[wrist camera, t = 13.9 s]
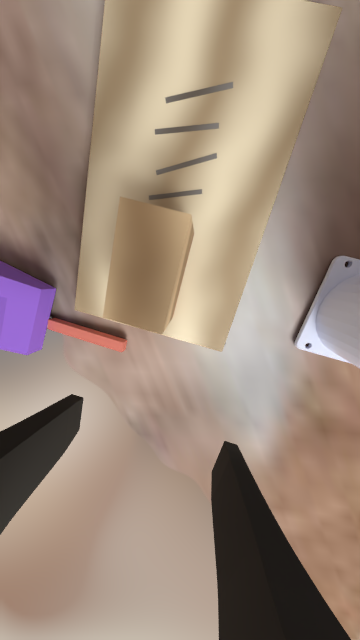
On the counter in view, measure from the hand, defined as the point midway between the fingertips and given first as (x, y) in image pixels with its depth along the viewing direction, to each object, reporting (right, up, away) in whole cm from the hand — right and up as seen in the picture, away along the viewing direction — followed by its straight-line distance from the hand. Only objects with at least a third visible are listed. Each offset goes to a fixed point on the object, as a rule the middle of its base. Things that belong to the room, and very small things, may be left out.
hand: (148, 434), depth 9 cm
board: (+1, +15, +6) cm, 16 cm away
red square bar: (-8, +4, +9) cm, 13 cm away
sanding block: (0, +10, +6) cm, 11 cm away
